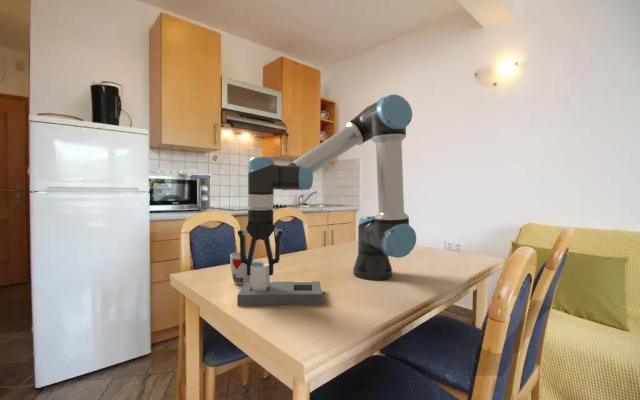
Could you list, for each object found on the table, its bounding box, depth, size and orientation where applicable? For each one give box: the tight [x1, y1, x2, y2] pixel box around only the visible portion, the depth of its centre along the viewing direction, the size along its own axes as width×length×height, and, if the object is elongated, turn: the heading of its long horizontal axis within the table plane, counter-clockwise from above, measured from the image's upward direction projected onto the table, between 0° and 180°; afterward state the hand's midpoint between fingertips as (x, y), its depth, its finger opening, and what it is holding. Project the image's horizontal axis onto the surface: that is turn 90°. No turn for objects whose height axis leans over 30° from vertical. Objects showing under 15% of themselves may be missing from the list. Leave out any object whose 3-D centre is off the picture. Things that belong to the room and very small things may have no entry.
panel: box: [236, 280, 323, 306], centre depth 89 cm, size 24×12×3 cm, turn 93°
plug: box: [252, 260, 268, 291], centre depth 89 cm, size 4×4×11 cm
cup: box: [229, 251, 255, 286], centre depth 103 cm, size 8×8×10 cm
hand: (260, 285), depth 89 cm, fingers closed on plug, 4 cm apart
